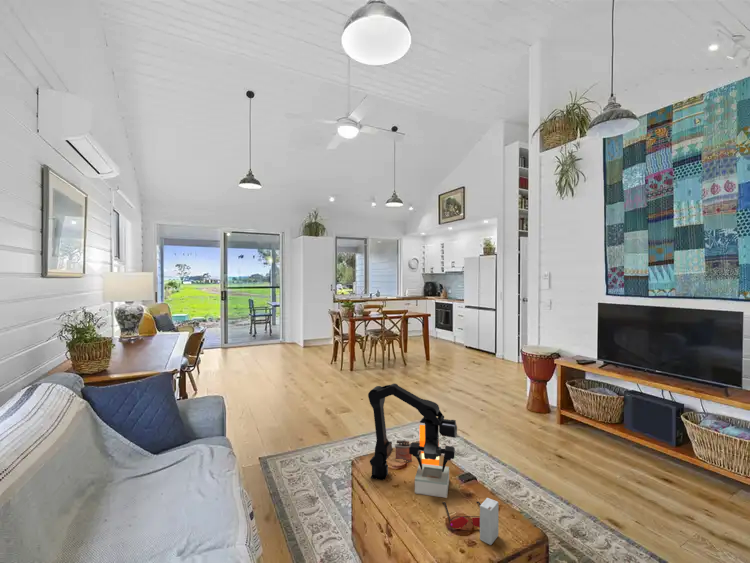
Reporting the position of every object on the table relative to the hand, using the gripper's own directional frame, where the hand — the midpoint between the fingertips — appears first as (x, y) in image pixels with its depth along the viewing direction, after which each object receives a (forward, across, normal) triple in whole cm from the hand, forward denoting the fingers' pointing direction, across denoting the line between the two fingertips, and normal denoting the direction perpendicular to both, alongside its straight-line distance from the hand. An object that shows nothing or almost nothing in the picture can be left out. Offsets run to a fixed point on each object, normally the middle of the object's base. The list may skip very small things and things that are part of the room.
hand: (432, 470), depth 156 cm
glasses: (+8, +14, -16) cm, 22 cm away
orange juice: (+7, -3, +15) cm, 17 cm away
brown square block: (+6, 0, 0) cm, 7 cm away
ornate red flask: (+7, -16, +19) cm, 26 cm away
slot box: (+7, 0, 0) cm, 7 cm away
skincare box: (+7, +22, -26) cm, 35 cm away
